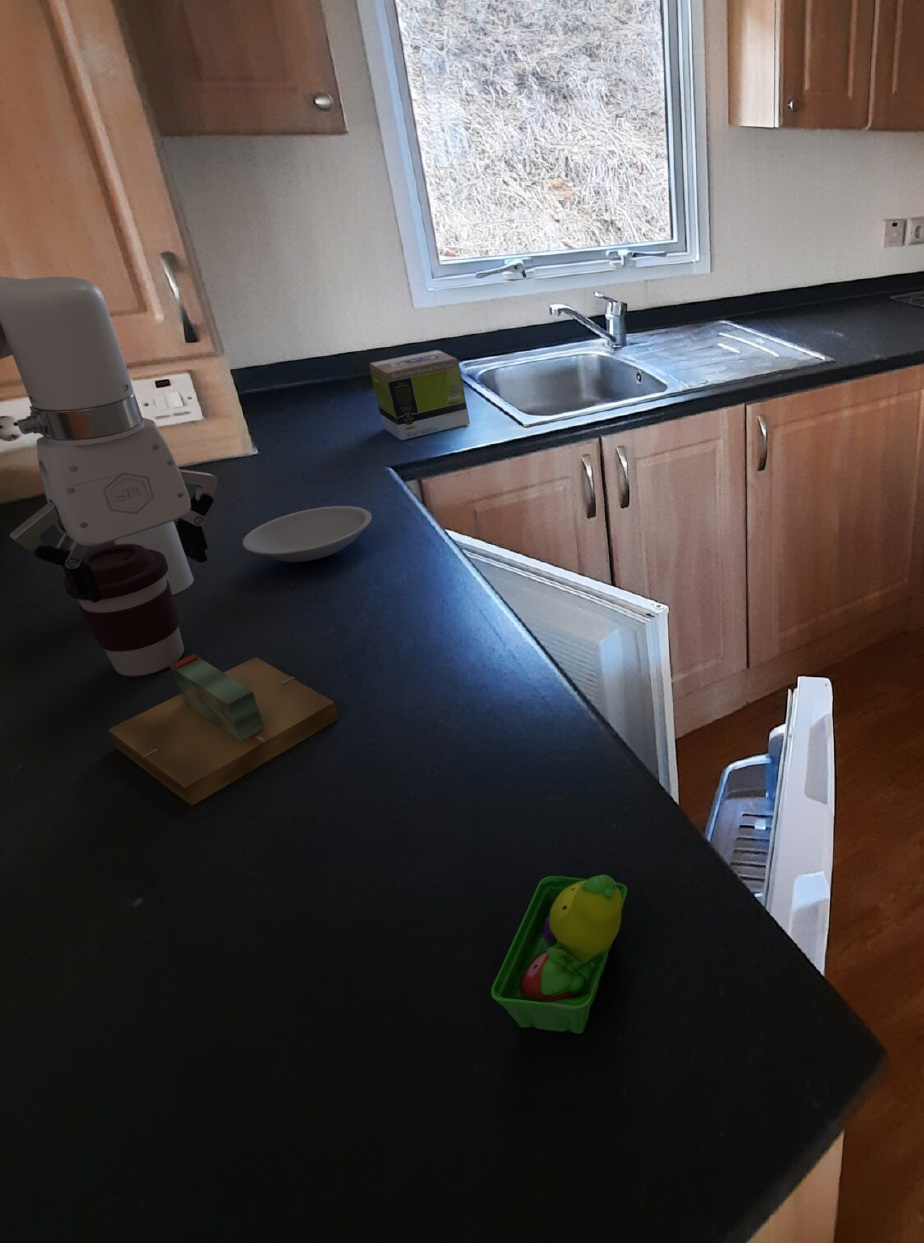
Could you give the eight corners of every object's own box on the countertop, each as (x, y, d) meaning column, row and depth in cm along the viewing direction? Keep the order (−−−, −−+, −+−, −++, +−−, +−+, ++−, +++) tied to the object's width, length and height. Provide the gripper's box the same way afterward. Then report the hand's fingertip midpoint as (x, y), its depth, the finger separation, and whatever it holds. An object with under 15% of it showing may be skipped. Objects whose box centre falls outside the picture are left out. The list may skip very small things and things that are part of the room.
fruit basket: (548, 914, 76) (533, 820, 71) (647, 924, 75) (638, 829, 70) (495, 1041, 65) (473, 942, 60) (609, 1054, 65) (596, 954, 60)
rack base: (191, 807, 86) (183, 787, 85) (113, 747, 94) (105, 728, 93) (340, 719, 99) (335, 700, 97) (261, 672, 106) (255, 655, 105)
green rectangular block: (265, 728, 93) (252, 689, 91) (240, 741, 91) (226, 702, 89) (207, 690, 99) (193, 652, 96) (183, 702, 97) (168, 664, 95)
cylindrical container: (149, 604, 120) (85, 436, 108) (125, 589, 123) (60, 424, 112) (203, 582, 125) (147, 420, 114) (178, 569, 128) (122, 409, 117)
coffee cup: (83, 673, 105) (37, 567, 99) (162, 631, 114) (124, 531, 107) (138, 693, 102) (94, 584, 96) (215, 648, 111) (180, 545, 104)
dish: (361, 524, 142) (354, 496, 140) (391, 556, 133) (385, 527, 130) (241, 557, 132) (232, 528, 130) (264, 595, 122) (255, 564, 120)
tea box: (451, 413, 191) (439, 348, 184) (470, 425, 184) (459, 358, 178) (382, 429, 182) (367, 360, 175) (400, 442, 175) (385, 371, 169)
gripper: (-9, 454, 71) (62, 627, 79) (210, 401, 84) (252, 554, 92) (-45, 434, 75) (27, 602, 82) (171, 387, 88) (215, 535, 95)
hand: (146, 577), depth 87 cm, fingers open, 9 cm apart
